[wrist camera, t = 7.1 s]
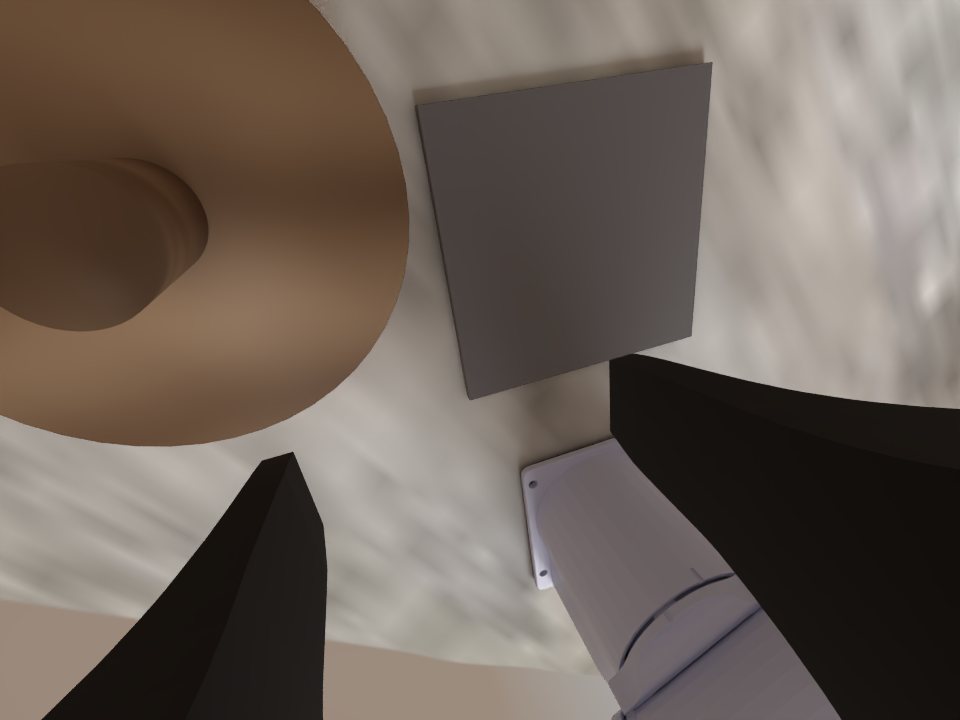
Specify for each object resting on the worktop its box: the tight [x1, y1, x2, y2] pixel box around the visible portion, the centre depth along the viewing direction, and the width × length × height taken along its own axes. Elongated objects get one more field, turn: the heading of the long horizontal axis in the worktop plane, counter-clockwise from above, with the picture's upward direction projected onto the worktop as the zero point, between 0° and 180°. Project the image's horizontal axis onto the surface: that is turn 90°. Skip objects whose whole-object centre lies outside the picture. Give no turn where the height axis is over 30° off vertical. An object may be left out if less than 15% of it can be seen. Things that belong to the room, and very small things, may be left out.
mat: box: [415, 62, 712, 400], centre depth 20 cm, size 12×12×1 cm
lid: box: [0, 0, 409, 446], centre depth 10 cm, size 13×13×5 cm
